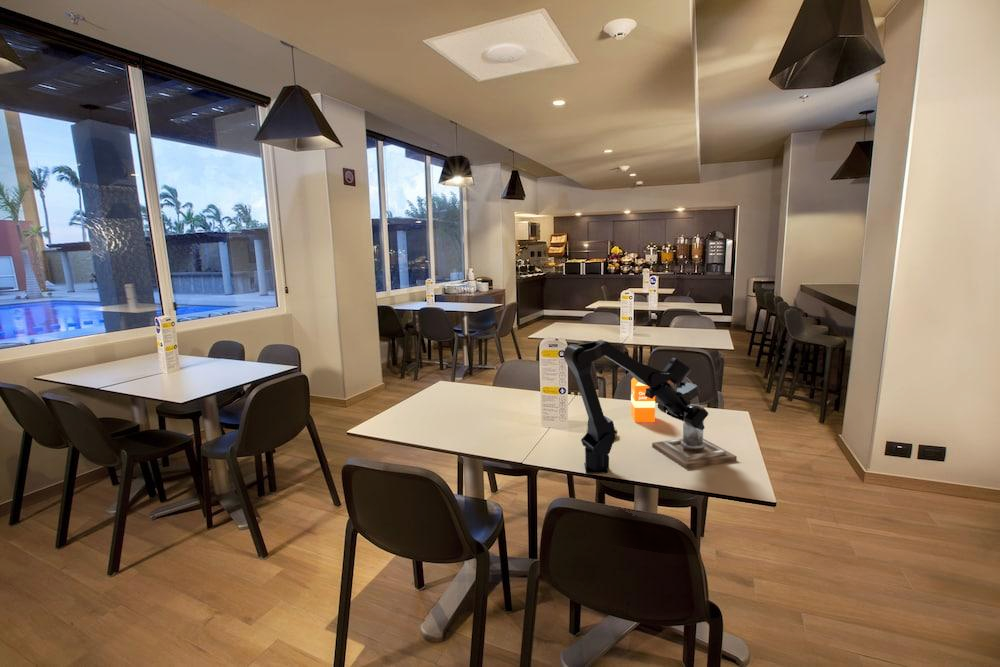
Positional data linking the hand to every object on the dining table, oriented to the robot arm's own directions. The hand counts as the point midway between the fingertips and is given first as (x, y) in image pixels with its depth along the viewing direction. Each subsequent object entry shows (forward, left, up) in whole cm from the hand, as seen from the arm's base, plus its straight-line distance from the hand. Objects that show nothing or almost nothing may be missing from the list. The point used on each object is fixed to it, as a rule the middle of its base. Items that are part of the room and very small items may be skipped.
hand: (696, 425), depth 153 cm
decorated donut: (-28, +16, -10) cm, 34 cm away
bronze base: (-1, 0, -9) cm, 9 cm away
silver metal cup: (-1, 0, -7) cm, 7 cm away
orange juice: (-10, +34, -9) cm, 36 cm away
